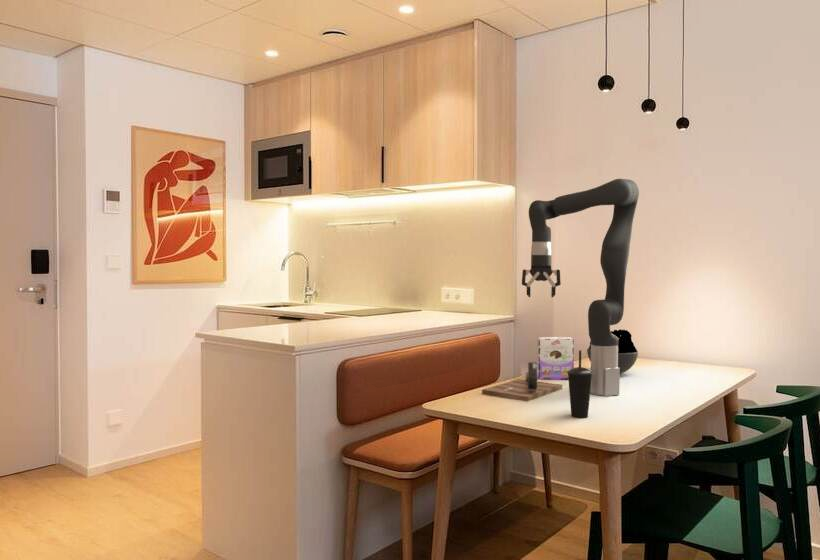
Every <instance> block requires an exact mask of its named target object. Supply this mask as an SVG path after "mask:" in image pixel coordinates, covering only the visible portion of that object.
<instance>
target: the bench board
mask: <svg viewBox="0 0 820 560" xmlns="http://www.w3.org/2000/svg"><path fill="white" fill-rule="evenodd" d="M562 389H563V384H558V383H551V382H544V381H538V380H537V389H536V392H530V391H529V388H528V382H527V381H526V379H524V378H523V379H521V378H517V379H514V380H510V381H508V382H504V383H500V384H496V385H494V386H491V387H487V388H484V389H481V395H486V396H491V397H497V398H498V397H499V398H505V399H510V400H517V401H523V402H530V401H533V400H535V399H538V398H542V397H544V396H546V395H549V394H552V393H555V392H558V391H561V390H562Z"/></svg>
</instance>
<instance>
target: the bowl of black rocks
mask: <svg viewBox="0 0 820 560" xmlns="http://www.w3.org/2000/svg"><path fill="white" fill-rule="evenodd" d="M610 332H611V334H612V335H614V336H616V337H617V338H618V368H620V375H621V374H624V373H625V372H628V371H629V370H630V369H632V367H633V366H634V365H635V363H636V361H637V359H638V356H639V351H638V349H637V347H636V345H635V344H634V342H633V341H632V333H631V332H630V331H628V330H627V329H621V328H620V329H613V330H610ZM586 355H587V357H588V360H589V361H590V363H591V340H590V341H589V346H588V348H587V349H586Z"/></svg>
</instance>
